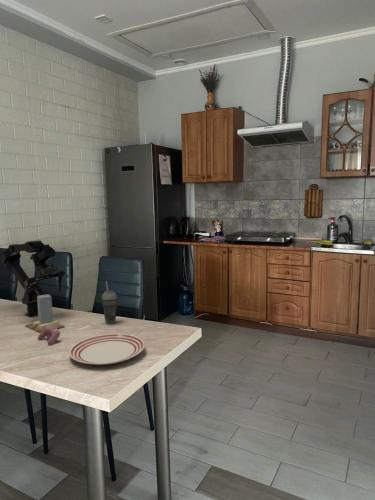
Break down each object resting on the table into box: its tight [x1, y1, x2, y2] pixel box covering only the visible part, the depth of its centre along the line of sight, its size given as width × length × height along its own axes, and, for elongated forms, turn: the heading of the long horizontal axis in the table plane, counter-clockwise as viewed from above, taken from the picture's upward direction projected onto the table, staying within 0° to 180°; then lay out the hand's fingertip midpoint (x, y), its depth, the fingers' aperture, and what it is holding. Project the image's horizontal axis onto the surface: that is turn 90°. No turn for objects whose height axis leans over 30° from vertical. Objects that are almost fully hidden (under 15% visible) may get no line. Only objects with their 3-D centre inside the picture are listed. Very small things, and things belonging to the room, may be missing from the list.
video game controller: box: [37, 326, 61, 346], centre depth 154 cm, size 10×5×7 cm, turn 47°
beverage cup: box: [101, 280, 118, 325], centre depth 176 cm, size 7×7×20 cm
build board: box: [25, 319, 65, 334], centre depth 172 cm, size 15×11×3 cm
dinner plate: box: [68, 333, 146, 366], centre depth 140 cm, size 28×27×3 cm
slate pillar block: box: [37, 294, 54, 324], centre depth 170 cm, size 5×5×12 cm
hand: (51, 294), depth 181 cm, fingers open, 9 cm apart
